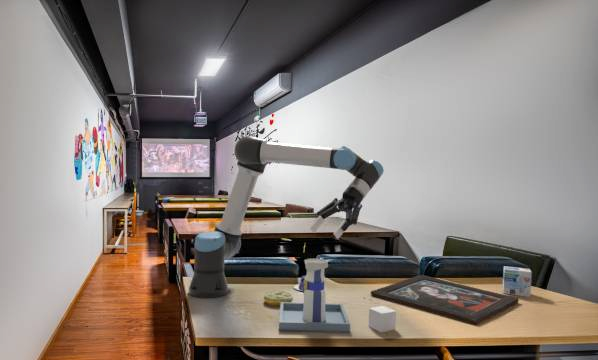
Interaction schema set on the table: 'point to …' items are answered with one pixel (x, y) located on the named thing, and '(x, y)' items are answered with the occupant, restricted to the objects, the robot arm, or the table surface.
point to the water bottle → (314, 290)
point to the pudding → (301, 285)
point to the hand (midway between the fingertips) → (323, 233)
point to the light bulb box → (517, 281)
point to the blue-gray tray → (294, 322)
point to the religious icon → (447, 298)
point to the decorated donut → (277, 297)
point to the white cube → (382, 318)
